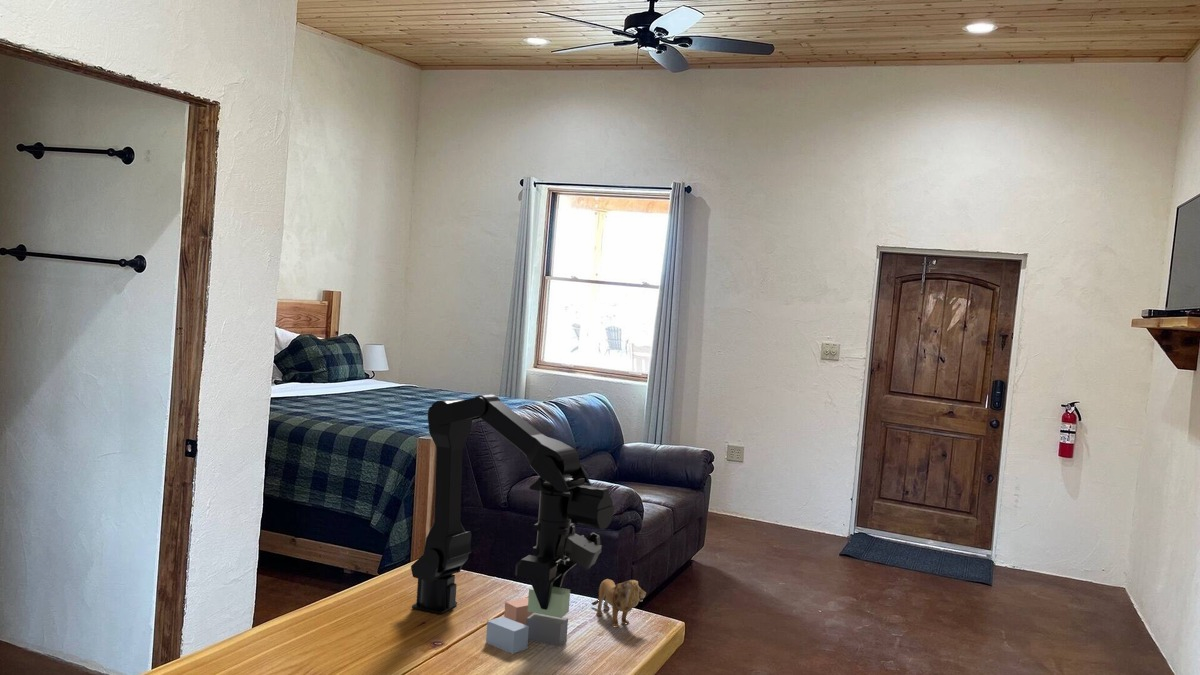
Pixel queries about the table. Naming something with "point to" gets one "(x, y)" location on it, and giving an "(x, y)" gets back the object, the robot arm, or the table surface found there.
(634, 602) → the lion figurine
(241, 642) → the table surface
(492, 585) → the table surface
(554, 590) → the green brick
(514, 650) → the slate blue brick
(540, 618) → the charcoal brick
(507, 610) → the terracotta brick
